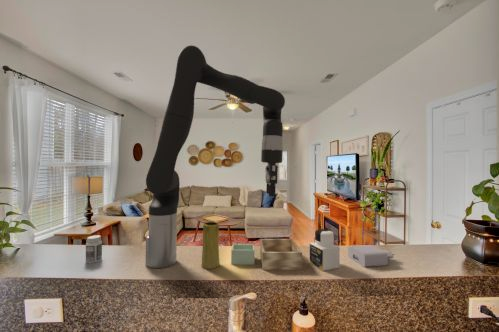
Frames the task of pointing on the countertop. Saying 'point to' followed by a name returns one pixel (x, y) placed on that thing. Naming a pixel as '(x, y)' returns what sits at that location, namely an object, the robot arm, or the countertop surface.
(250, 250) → the crate small
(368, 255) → the charger
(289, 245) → the crate large
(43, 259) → the countertop surface
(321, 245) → the medicine bottle
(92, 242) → the pill bottle
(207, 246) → the vase
